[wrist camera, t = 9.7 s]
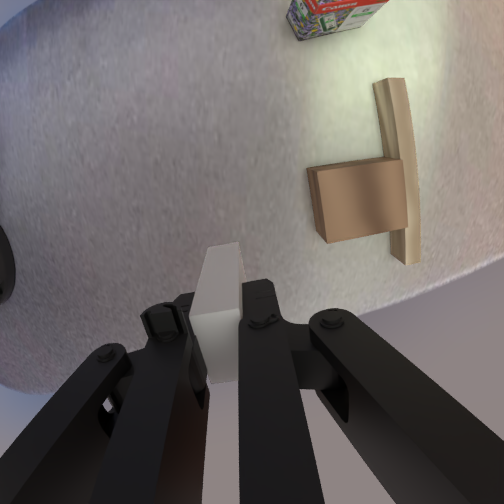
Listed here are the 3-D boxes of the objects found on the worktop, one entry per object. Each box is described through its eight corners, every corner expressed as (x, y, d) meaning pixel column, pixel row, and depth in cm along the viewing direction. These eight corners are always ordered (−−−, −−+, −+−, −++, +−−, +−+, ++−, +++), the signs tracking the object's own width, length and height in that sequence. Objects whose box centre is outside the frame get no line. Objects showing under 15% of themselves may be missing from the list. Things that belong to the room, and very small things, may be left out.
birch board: (390, 253, 36) (405, 265, 32) (372, 83, 30) (387, 77, 26) (404, 250, 36) (420, 262, 32) (388, 83, 30) (404, 77, 26)
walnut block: (315, 230, 35) (327, 243, 30) (306, 167, 33) (316, 171, 28) (388, 216, 35) (408, 227, 30) (382, 156, 33) (402, 159, 28)
